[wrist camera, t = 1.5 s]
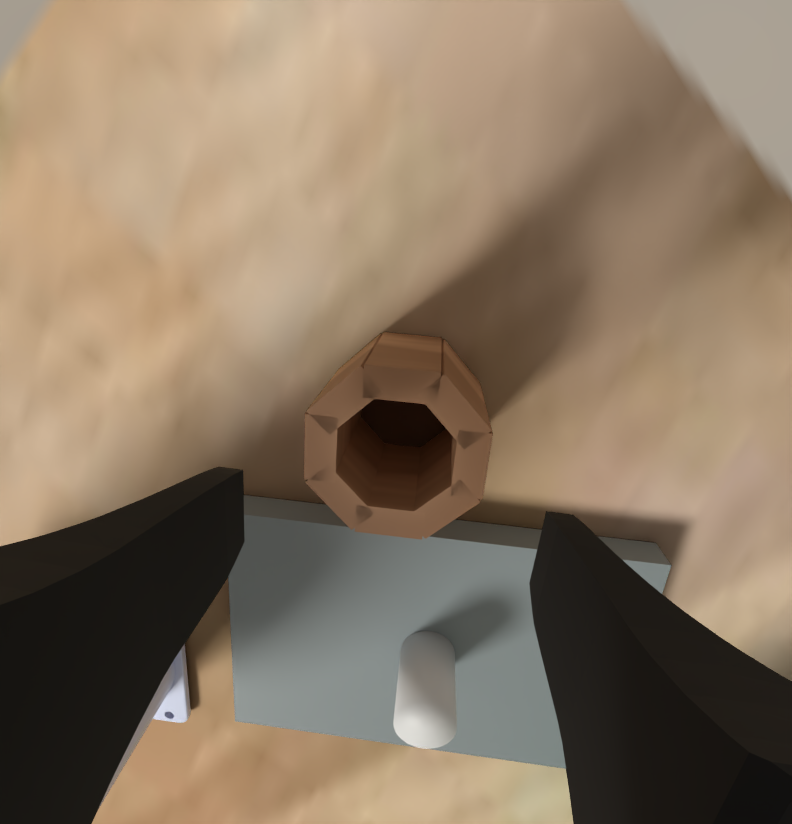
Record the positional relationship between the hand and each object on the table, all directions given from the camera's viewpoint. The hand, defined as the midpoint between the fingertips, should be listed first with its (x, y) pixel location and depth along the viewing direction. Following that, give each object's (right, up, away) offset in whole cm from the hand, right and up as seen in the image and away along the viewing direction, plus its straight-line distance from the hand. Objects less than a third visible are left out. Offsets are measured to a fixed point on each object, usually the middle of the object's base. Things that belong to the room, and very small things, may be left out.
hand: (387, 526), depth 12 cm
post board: (+2, -7, +12) cm, 14 cm away
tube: (+1, +3, +8) cm, 9 cm away
